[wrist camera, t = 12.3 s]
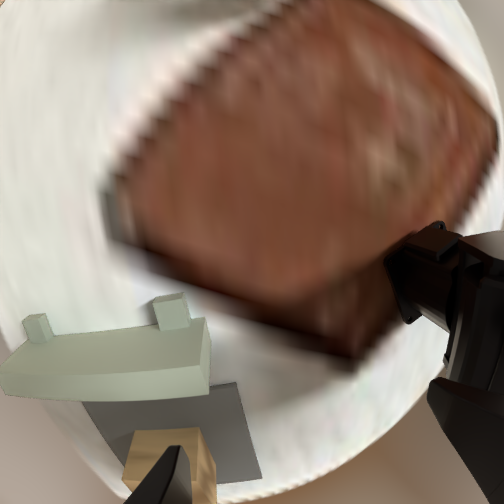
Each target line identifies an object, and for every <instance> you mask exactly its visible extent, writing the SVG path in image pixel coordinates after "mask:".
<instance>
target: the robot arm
mask: <svg viewBox="0 0 504 504" xmlns="http://www.w3.org/2000/svg"><path fill="white" fill-rule="evenodd" d="M439 226H440V229H439ZM390 260H392V263H391V264H390V265H389V262H390ZM384 266H385V269H386V272H387V274H388V277H389V280H390V283H391V285H392V288H393V291H394V294H395V297H396V300H397V303H398V306H399V309H400V312H401V315H402V318H403V321H404V322H405V323H406V324H411V323H413V322H414V321H415V320H417V319H418V318H419V317H421V316H422V315H423V316H425V317H426V318H428V319H429V320H431V321H432V322H434V323H435V324H436V325H438V326H439V327H441V328H442V329H444V330H445V331H447V332H448V333H449V334H450V335H449V340H448V345H447V350H446V353H445V354H444V358H443V363H444V365H445V367H446V369H447V372H446V375H447V379H446V378H442V377H437V378H435V379H433V380H431V381H430V383H429V388H428V392H427V402H428V404H429V406H430V408H431V409H432V411H433V413H434V415H435V417H436V419H437V421H438V423H439V425H440V426H441V428H442V430H443V432H444V433H445V434H446V436H447V438H448V439H449V441H450V442H451V443H452V445H453V446H454V448H455V449H456V451H457V452H458V454H459V455H460V457H461V459H462V460H463V462H464V463H465V465H466V466H467V468H468V469H469V471H470V472H471V474H472V475H473V477H474V479H475V480H476V482H477V483H478V485H479V487H480V488H481V490H482V492H483V493H484V495H485V496H486V498H487V500H488V502H489V503H490V504H504V231H492V232H486V233H481V234H475V235H470V236H464V237H463V236H462V235H461V234H458V233H454V232H450V231H447V230H446V226H445V223H444V222H443V221H436V222H435V223H433V224H432V225H431V226H426V227H425V228H423V229H422V230H421V231H419V232H418V233H416V234H415V235H413V236H412V237H411V238H409V239H408V240H406V241H405V243H404V245H402V246H401V247H400V248H398V249H397V250H395V251H394V252H392V253H391V254H389V255H388V256H387V257H386V258H385V259H384ZM409 317H410V318H409ZM408 318H409V319H408ZM123 504H193V497H192V484H191V471H190V461H189V458H188V456H187V454H186V452H185V450H184V449H183V447H182V446H181V445H170V446H168V448H167V449H166V450H165V452H164V453H163V454H162V455H161V457H160V458H159V459H158V461H157V462H156V463H155V465H154V466H153V467H152V468H151V470H150V471H149V472H148V474H147V475H146V476H145V477H144V479H143V480H142V481H141V482H140V484H139V485H138V486H137V487H136V489H135V490H134V491H133V492H132V494H131V495H130V496H129V497H128V499H127V500H126V501H125V502H124V503H123Z"/></svg>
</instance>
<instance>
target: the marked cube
mask: <svg viewBox="0 0 504 504" xmlns="http://www.w3.org/2000/svg"><path fill="white" fill-rule="evenodd" d="M170 445H181V446H182V447H183V449H184V450H185V452H186V454H187V456H188V458H189V461H190V471H191V484H192V497H193V504H217V490H216V464H215V462H214V460H213V457H212V455H211V453H210V451H209V449H208V447H207V444H206V442H205V440H204V437H203V435H202V433H201V431H200V428H199V427H193V428H181V429H165V430H135V432H134V436H133V439H132V443H131V446H130V450H129V453H128V457H127V460H126V464H125V468H124V471H123V475H122V479H121V480H122V481H123V482H124V484H125V485H126V486H127V487H128V488H129V489H130V490H131V492H133V491H134V490H135V489H136V487H137V486H138V485H139V484H140V482H141V481H142V480H143V479H144V477H145V476H146V475H147V474H148V472H149V471H150V470H151V468H152V467H153V466H154V465H155V463H156V462H157V461H158V459H159V458H160V457H161V455H162V454H163V453H164V452H165V450H166V449H167V448H168V446H170Z"/></svg>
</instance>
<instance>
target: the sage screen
mask: <svg viewBox="0 0 504 504" xmlns="http://www.w3.org/2000/svg"><path fill="white" fill-rule="evenodd" d="M152 304H153V308H154V311H155V314H156V318H157V321H158V324H155V325H148V326H141V327H133V328H125V329H117V330H108V331H99V332H90V333H80V334H69V335H58V336H54V335H53V332H52V330H51V327H50V325H49V322H48V319H47V316H46V314H45V313H44V314H36V315H29V316H28V317H26V318H25V319H24V320H23V321H22V322H23V325H24V328H25V330H26V333H27V335H28V338H29V339H28V340H27V341H26V342H25V343H24V344H23V345H21V346H20V347H19V348H18V349H17V350H16V351H15V352H14V353H13V354H12V355H11V356H10V357H9V358H8V359H7V360H6V361H4V362H3V363H2V364H1V365H0V386H1V387H2V389H3V391H4V393H5V394H6V395H10V396H18V397H27V398H36V399H48V400H64V401H140V400H157V399H170V398H181V397H190V396H199V395H207V394H209V379H210V357H211V339H210V335H209V331H208V327H207V323H206V319H205V317H201V318H195V319H191V318H190V314H189V310H188V306H187V302H186V298H185V294H184V292H183V293H177V294H171V295H165V296H159V297H156V298H155V300H154V301H153V303H152Z"/></svg>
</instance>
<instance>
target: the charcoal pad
mask: <svg viewBox="0 0 504 504" xmlns="http://www.w3.org/2000/svg"><path fill="white" fill-rule="evenodd" d="M82 403H83V405H84V407H85V408H86V410H87V412H88V414H89V415H90V417H91V419H92V420H93V422H94V423H95V425H96V427H97V428H98V430H99V431H100V433H101V434H102V436H103V438H104V439H105V441H106V442H107V443H108V445H109V446H110V448H111V449H112V451H113V452H114V454H115V455H116V456H117V458H118V459H119V460H120V462H121V463H122V464H123V466H124V467H125V464H126V460H127V457H128V453H129V450H130V446H131V443H132V439H133V436H134V432H135V430H165V429H181V428H193V427H199V428H200V431H201V433H202V435H203V437H204V440H205V442H206V444H207V447H208V449H209V451H210V453H211V455H212V457H213V460H214V462H215V464H216V484H225V483H234V482H242V481H250V480H256V479H262V474H261V471H260V468H259V465H258V461H257V458H256V454H255V451H254V448H253V444H252V441H251V437H250V434H249V430H248V426H247V423H246V419H245V416H244V412H243V408H242V404H241V401H240V397H239V393H238V389H237V385H236V383H230V384H223V385H216V386H209V394H207V395H199V396H190V397H181V398H170V399H157V400H140V401H82Z"/></svg>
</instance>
